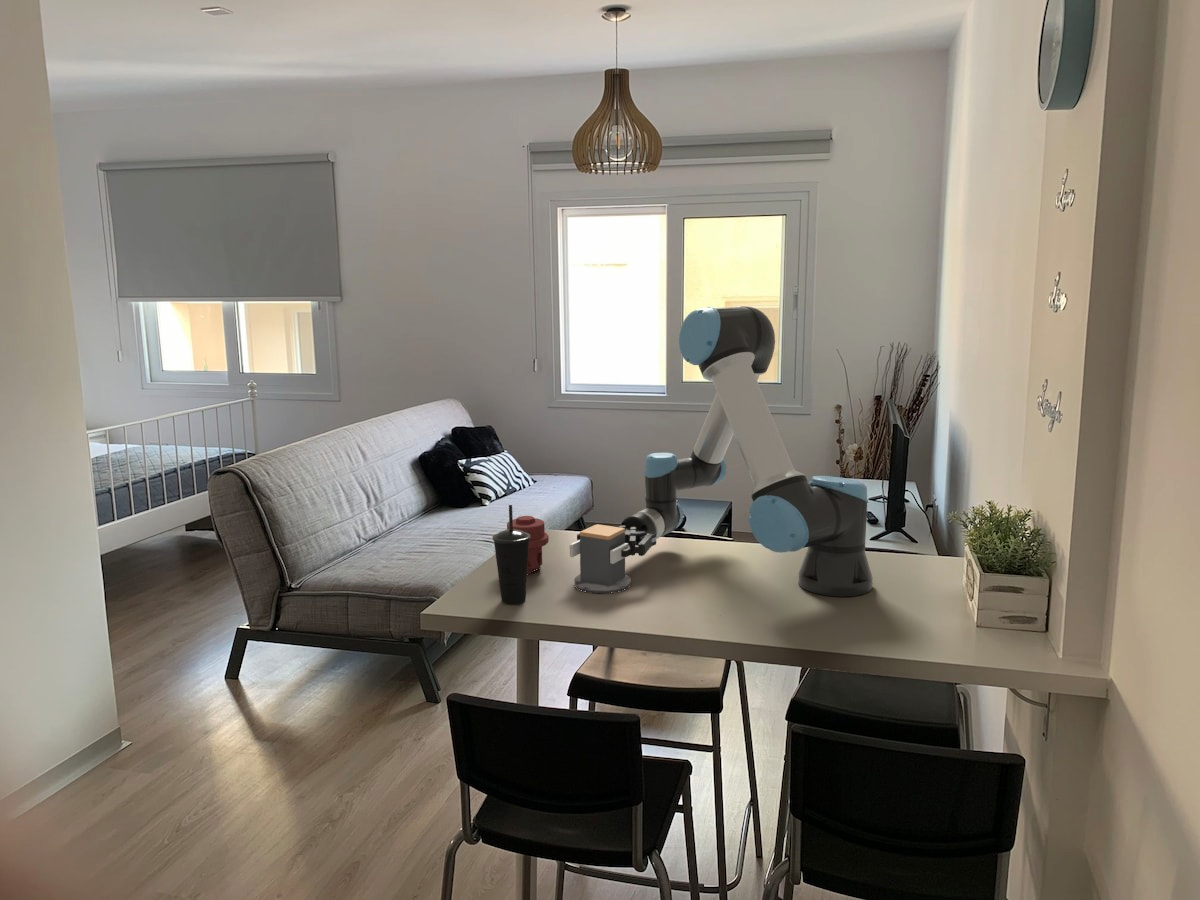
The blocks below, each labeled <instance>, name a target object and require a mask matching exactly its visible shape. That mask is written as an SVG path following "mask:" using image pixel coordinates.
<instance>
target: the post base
mask: <svg viewBox="0 0 1200 900" xmlns="http://www.w3.org/2000/svg"><path fill="white" fill-rule="evenodd" d="M631 581H632V579H631V577H630V576H629V575H628V574H626V573H625V577H624V578H622V579H621V580H619V581H617V582H615V583H614V584H612V585H610V586H605V585H600V584H594V583H589V582H583V581H580V574H578V575H576V576H575V577H574V587H575V586H576V587H577V588H578V589H580V590H582V591H581V592H583V591H586V592H585V593H587V592H592V593H591V594H594V593H610V594H612V593H611V592H617V593H619V592H618V591H621V592H623V591H622V590H624V589H626V590H628V589H629V588H630V587H631V585H630V584H631V583H632V582H631ZM629 586H630V587H629ZM576 587H575V588H576ZM628 587H629V588H628ZM577 588H576V589H577ZM627 588H628V589H627ZM578 589H577V590H578ZM580 590H579V591H580ZM624 591H625V590H624Z"/></svg>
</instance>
